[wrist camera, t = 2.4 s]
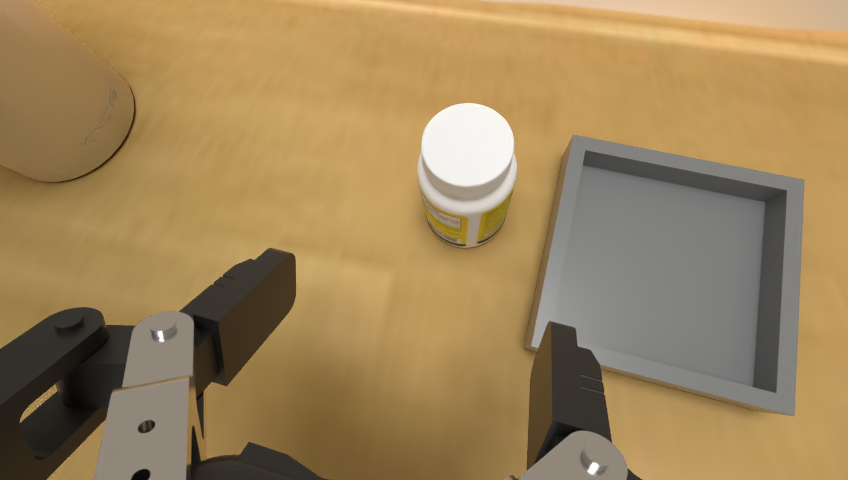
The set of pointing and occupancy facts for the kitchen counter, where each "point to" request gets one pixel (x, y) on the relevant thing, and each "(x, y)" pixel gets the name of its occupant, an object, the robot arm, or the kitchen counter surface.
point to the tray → (676, 271)
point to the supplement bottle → (466, 173)
